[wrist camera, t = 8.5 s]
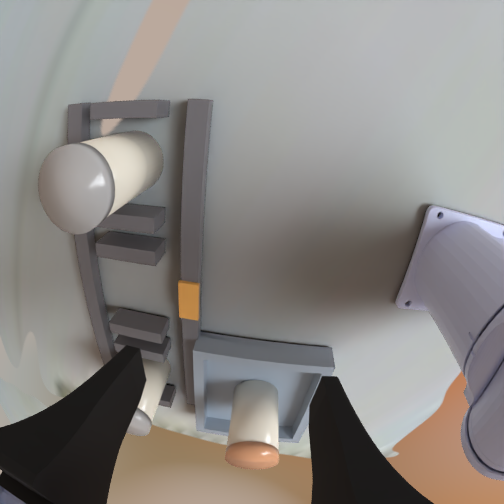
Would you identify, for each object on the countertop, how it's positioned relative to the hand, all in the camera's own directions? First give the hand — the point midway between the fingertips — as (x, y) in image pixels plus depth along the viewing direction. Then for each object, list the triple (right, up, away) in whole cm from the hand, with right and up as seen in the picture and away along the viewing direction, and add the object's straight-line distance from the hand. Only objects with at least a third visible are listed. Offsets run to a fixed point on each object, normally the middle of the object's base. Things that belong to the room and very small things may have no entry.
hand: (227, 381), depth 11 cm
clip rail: (-7, +3, +10) cm, 13 cm away
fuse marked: (+1, -8, +14) cm, 16 cm away
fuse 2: (-8, -5, +14) cm, 17 cm away
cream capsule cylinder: (-6, +11, +6) cm, 14 cm away
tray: (+1, -8, +15) cm, 16 cm away
